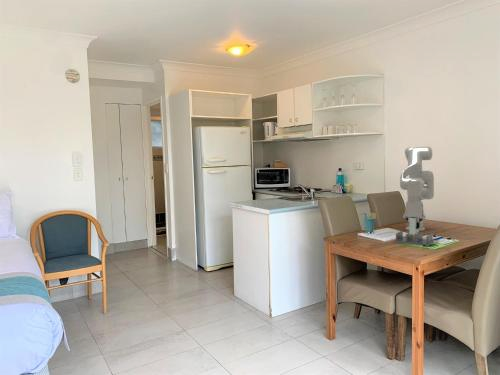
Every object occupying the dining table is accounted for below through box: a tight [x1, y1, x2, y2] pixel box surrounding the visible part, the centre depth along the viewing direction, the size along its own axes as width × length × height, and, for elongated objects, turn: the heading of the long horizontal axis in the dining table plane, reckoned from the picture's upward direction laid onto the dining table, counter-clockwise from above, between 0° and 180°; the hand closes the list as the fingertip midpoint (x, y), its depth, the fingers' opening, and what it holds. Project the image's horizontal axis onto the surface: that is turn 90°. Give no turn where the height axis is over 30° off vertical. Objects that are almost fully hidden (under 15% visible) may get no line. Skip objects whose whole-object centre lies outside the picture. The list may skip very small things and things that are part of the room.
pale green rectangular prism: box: [408, 217, 420, 236], centre depth 242 cm, size 8×4×10 cm, turn 142°
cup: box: [360, 212, 377, 233], centre depth 275 cm, size 14×8×15 cm, turn 121°
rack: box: [394, 230, 435, 247], centre depth 243 cm, size 13×20×6 cm, turn 52°
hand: (414, 228), depth 242 cm, fingers closed on pale green rectangular prism, 3 cm apart
